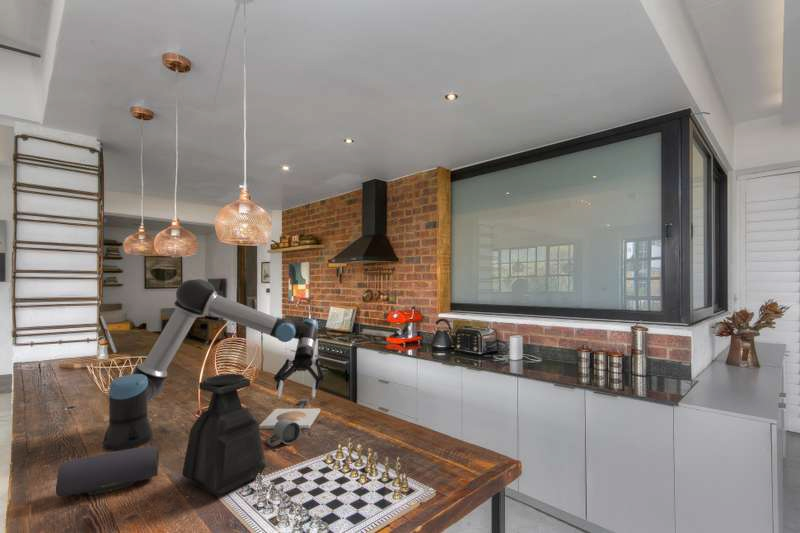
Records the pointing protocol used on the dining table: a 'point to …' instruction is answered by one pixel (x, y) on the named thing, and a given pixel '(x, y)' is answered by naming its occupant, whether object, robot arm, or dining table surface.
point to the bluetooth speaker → (107, 471)
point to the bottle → (224, 439)
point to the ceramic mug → (285, 432)
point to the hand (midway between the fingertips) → (295, 396)
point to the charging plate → (292, 416)
